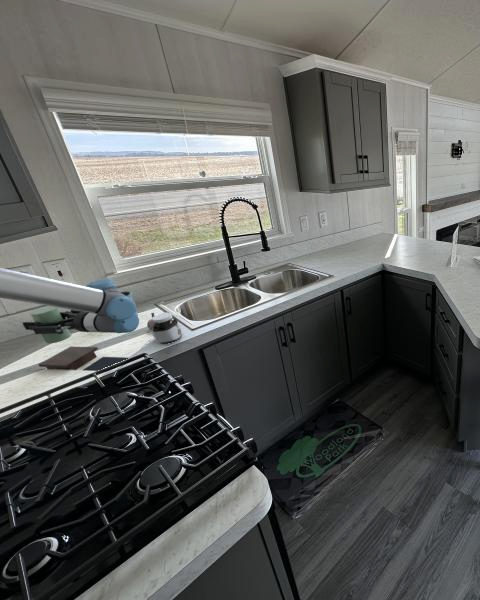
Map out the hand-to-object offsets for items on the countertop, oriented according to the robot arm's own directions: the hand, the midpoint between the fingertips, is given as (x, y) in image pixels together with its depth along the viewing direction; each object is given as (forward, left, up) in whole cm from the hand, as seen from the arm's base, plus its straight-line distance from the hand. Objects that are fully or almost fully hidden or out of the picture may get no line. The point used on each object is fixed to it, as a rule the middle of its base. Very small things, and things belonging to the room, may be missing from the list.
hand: (37, 320), depth 120 cm
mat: (-2, -20, -19) cm, 28 cm away
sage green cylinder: (0, -5, -8) cm, 9 cm away
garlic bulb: (+28, -18, -20) cm, 39 cm away
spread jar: (+19, -30, -20) cm, 40 cm away
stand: (0, -5, -19) cm, 20 cm away
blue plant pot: (+38, +7, -20) cm, 43 cm away
